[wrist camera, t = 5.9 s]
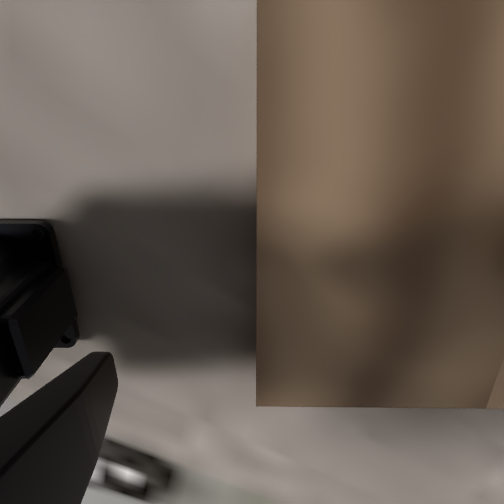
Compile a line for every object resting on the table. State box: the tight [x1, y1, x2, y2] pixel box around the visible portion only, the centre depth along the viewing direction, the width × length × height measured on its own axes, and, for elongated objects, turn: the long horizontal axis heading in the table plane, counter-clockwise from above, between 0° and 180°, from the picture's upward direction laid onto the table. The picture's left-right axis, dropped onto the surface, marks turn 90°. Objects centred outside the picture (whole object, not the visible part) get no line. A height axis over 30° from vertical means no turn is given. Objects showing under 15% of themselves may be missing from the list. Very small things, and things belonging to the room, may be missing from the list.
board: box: [256, 0, 504, 409], centre depth 15 cm, size 18×16×2 cm
